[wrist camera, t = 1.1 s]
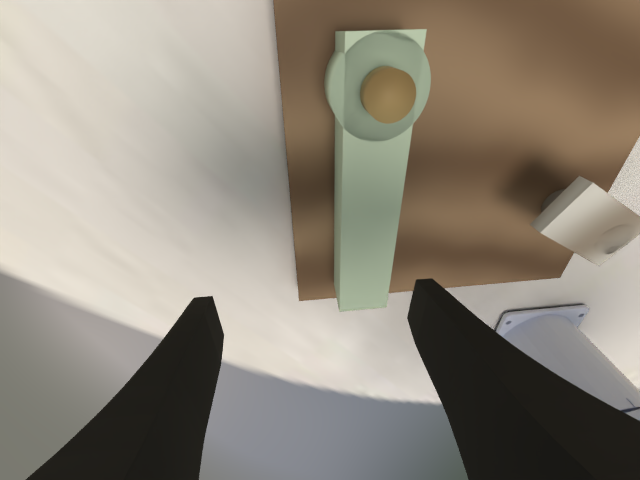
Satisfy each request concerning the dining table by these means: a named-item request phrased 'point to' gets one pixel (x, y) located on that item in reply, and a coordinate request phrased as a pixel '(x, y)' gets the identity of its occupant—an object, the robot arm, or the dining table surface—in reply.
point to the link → (369, 161)
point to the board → (474, 134)
